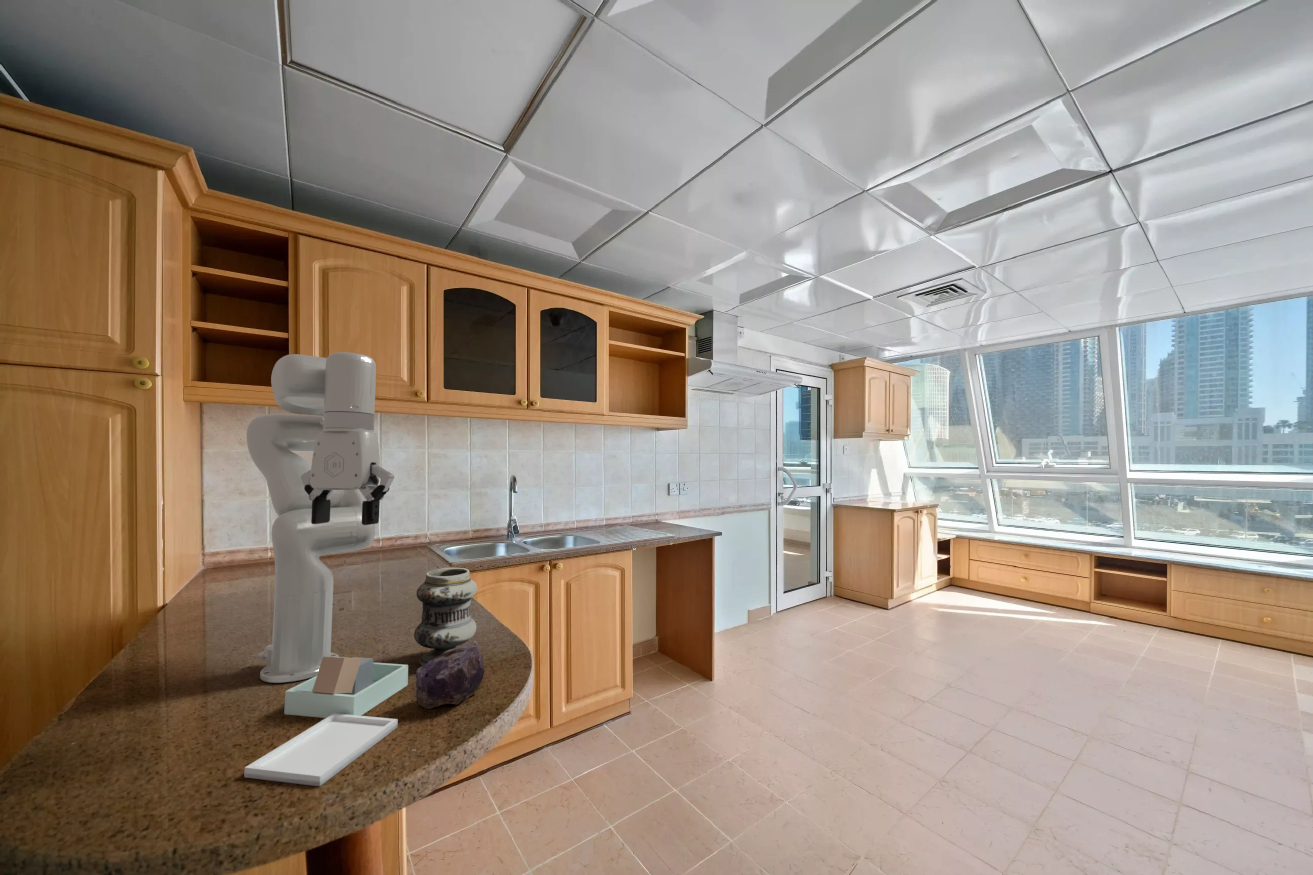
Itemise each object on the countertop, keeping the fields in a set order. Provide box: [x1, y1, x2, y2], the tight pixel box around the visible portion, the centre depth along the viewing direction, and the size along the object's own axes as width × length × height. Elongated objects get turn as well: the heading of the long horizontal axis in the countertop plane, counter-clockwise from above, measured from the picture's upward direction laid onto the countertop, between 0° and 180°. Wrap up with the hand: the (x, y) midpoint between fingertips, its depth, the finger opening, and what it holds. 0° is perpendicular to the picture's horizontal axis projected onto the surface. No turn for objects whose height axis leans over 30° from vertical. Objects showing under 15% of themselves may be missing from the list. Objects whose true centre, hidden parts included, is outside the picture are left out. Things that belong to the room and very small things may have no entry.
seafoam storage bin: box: [283, 661, 409, 719], centre depth 83 cm, size 13×13×4 cm
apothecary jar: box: [413, 567, 478, 666], centre depth 102 cm, size 12×12×18 cm
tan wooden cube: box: [312, 656, 362, 694], centre depth 80 cm, size 4×4×5 cm
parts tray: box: [243, 713, 399, 787], centre depth 68 cm, size 11×14×1 cm
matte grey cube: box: [336, 656, 374, 695], centre depth 84 cm, size 4×4×5 cm
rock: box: [415, 640, 486, 710], centre depth 83 cm, size 12×9×10 cm
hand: (345, 523), depth 83 cm, fingers open, 9 cm apart
